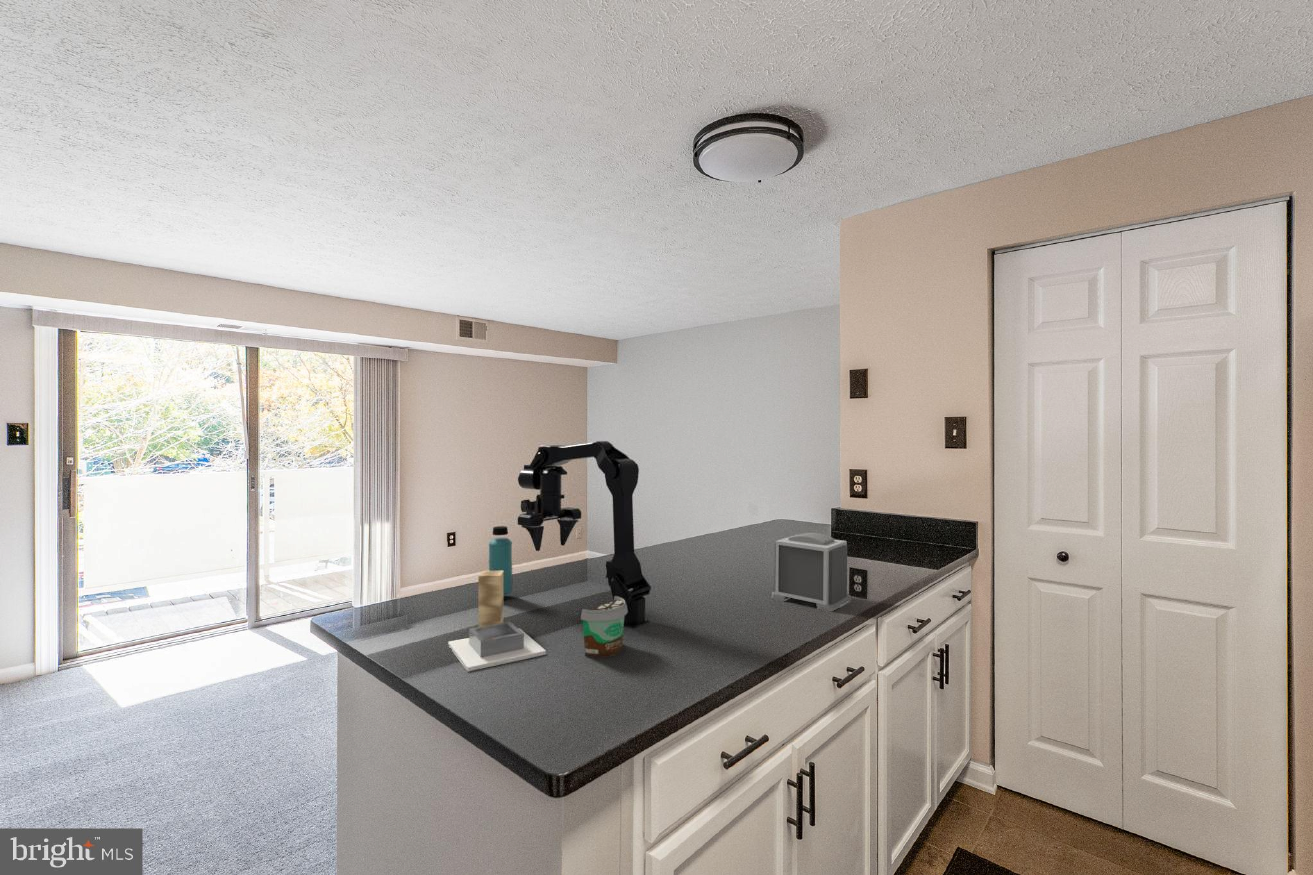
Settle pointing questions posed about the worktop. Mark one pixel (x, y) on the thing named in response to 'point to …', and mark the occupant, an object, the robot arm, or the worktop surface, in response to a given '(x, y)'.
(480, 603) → the pine post
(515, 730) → the worktop surface
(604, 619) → the food container
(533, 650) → the base plate
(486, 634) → the metal collar
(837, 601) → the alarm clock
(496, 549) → the beverage bottle
